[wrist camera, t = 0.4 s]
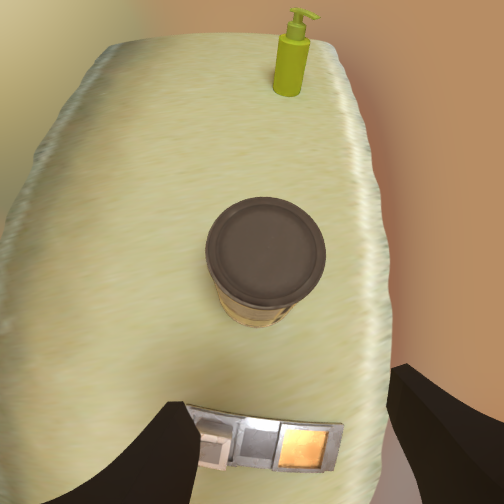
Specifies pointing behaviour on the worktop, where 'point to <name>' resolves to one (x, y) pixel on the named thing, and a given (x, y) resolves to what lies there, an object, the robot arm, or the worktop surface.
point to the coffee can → (264, 259)
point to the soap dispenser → (292, 55)
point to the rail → (277, 441)
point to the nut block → (214, 444)
